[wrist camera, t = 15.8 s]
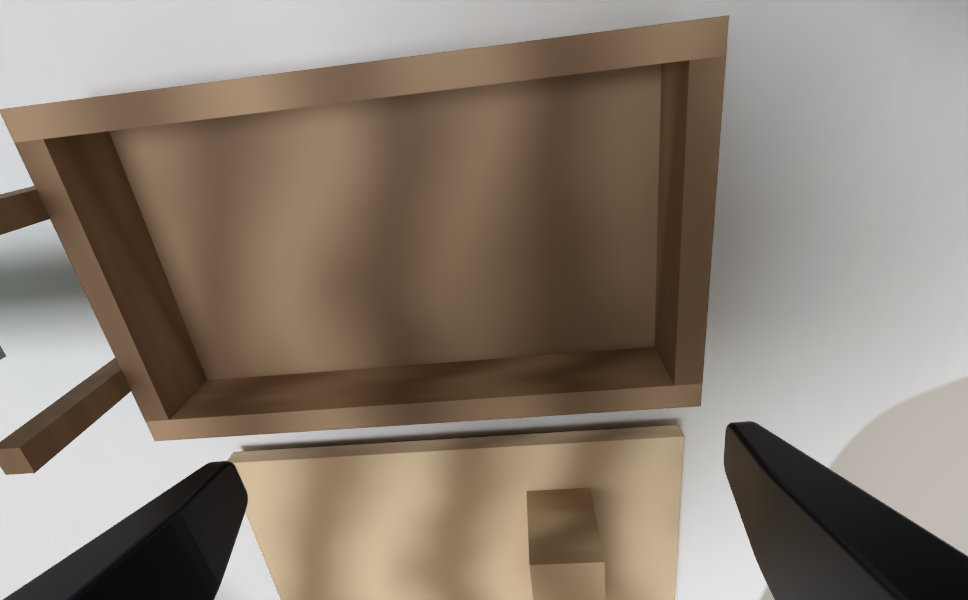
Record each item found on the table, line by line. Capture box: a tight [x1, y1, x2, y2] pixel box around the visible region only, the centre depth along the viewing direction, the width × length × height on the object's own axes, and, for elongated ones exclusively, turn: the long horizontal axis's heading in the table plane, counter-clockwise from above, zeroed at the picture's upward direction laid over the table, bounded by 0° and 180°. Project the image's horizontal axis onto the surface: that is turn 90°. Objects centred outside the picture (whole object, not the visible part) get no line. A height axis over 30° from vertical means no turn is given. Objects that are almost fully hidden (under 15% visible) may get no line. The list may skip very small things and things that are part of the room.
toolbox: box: [0, 16, 729, 475], centre depth 17 cm, size 23×13×8 cm, turn 96°
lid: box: [228, 425, 684, 600], centre depth 25 cm, size 21×12×6 cm, turn 96°
